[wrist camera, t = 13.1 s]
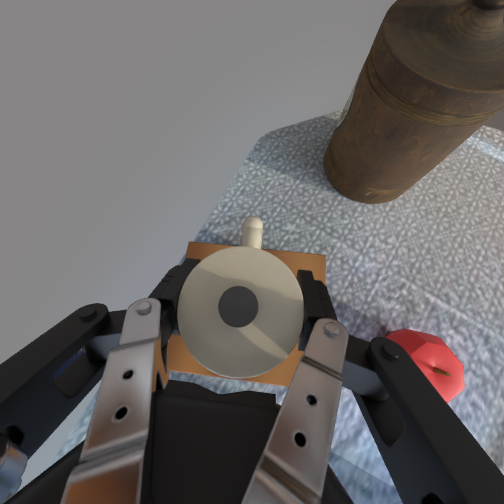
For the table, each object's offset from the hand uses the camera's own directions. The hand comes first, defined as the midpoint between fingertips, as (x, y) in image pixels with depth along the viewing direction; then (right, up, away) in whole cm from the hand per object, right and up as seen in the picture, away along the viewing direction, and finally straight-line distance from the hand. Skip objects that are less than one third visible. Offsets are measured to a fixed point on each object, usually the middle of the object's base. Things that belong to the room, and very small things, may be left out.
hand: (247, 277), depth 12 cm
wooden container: (+20, +16, +24) cm, 36 cm away
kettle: (0, -2, +4) cm, 4 cm away
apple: (+20, -13, +16) cm, 29 cm away
